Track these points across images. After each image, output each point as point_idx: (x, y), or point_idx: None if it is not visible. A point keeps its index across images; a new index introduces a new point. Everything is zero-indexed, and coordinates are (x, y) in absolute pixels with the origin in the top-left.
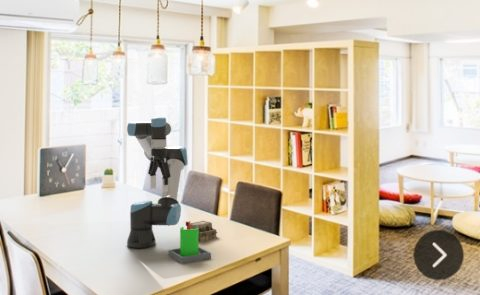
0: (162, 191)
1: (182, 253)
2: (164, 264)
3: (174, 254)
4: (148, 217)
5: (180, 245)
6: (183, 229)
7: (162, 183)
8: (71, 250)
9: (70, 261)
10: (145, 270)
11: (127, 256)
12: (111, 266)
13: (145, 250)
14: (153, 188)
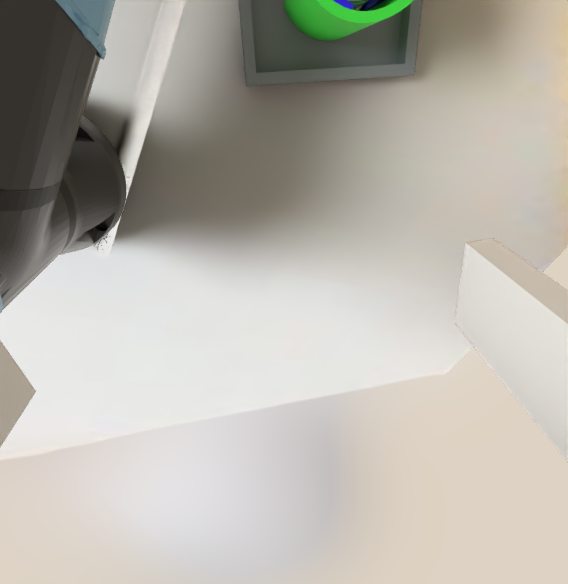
0: (459, 325)
1: (347, 35)
2: (363, 151)
3: (325, 80)
4: (51, 208)
5: (331, 35)
6: (395, 10)
7: (554, 436)
8: None
9: (171, 405)
10: (388, 238)
11: (179, 255)
12: (282, 320)
13: None
14: (13, 360)
